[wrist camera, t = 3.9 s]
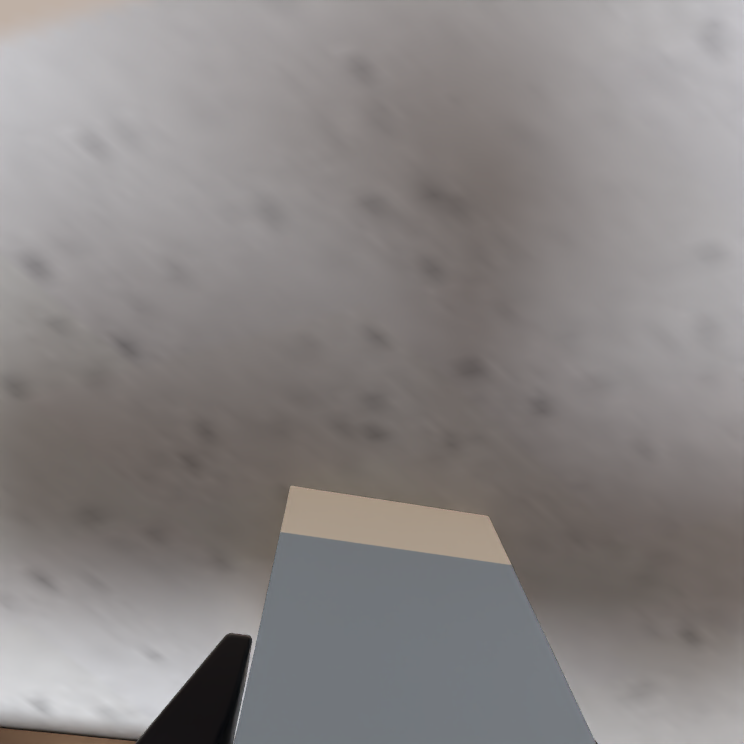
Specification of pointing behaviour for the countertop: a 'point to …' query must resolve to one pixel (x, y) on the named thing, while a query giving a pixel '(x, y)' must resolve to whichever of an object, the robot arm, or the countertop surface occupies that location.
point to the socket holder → (51, 738)
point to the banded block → (399, 634)
